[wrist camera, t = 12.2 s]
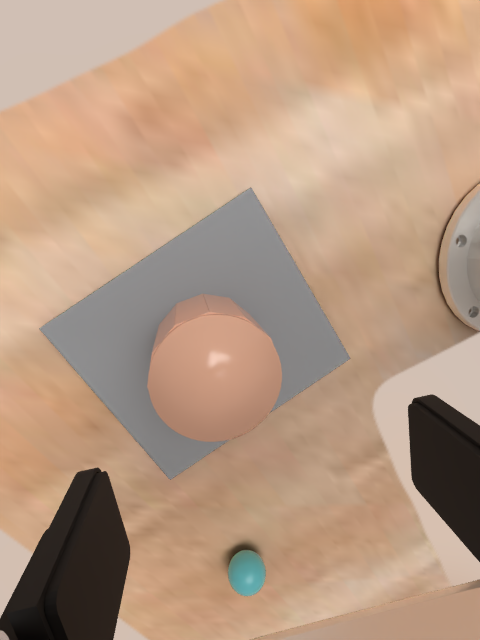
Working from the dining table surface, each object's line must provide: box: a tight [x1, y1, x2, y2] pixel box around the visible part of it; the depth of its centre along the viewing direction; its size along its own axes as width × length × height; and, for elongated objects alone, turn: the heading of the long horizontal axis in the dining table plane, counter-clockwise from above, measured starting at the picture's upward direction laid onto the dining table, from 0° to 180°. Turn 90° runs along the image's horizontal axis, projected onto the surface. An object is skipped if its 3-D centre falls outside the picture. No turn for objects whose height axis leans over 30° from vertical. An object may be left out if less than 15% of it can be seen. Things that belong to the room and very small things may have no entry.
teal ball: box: [228, 550, 266, 596], centre depth 28 cm, size 3×3×3 cm
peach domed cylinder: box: [147, 294, 282, 442], centre depth 21 cm, size 7×7×6 cm
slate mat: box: [39, 188, 351, 480], centre depth 25 cm, size 16×14×1 cm
